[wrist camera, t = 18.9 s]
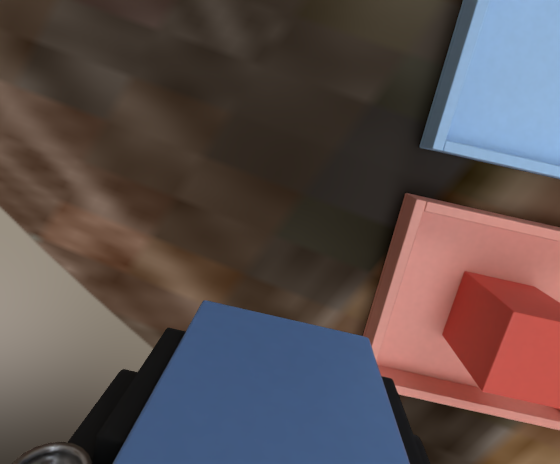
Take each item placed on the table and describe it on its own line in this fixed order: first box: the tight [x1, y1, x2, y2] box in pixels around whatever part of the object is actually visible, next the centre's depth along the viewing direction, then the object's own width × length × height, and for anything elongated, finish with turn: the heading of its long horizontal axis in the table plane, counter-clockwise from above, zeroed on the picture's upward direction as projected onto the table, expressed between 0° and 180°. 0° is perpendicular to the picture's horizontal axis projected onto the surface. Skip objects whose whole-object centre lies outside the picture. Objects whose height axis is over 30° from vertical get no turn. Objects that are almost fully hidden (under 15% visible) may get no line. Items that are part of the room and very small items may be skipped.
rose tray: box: [363, 193, 560, 430], centre depth 25 cm, size 14×12×2 cm
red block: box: [442, 271, 560, 409], centre depth 23 cm, size 5×5×6 cm
